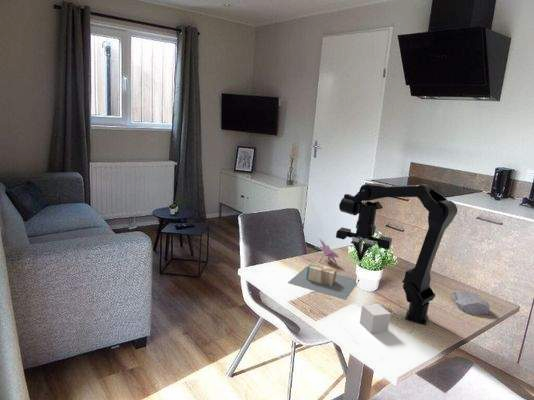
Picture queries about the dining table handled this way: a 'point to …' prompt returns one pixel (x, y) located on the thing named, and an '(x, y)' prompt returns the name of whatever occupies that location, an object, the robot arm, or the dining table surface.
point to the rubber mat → (338, 289)
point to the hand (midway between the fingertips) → (360, 260)
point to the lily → (328, 251)
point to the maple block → (321, 274)
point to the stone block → (470, 302)
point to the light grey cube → (374, 318)
